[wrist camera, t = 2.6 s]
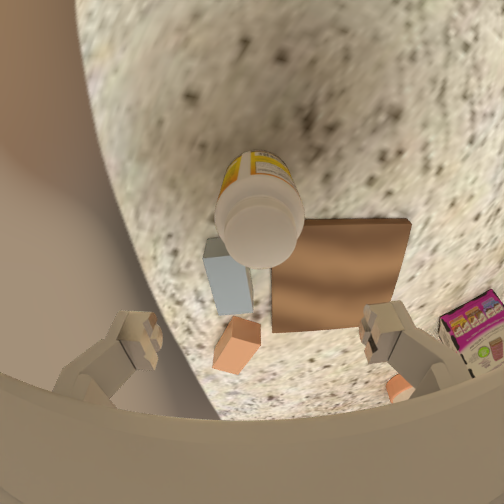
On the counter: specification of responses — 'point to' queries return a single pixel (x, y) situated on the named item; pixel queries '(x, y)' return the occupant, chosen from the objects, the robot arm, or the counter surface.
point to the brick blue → (227, 280)
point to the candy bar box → (476, 333)
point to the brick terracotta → (237, 345)
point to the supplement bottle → (259, 210)
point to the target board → (337, 273)
